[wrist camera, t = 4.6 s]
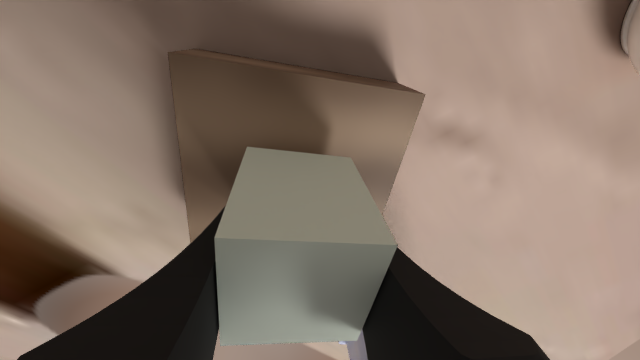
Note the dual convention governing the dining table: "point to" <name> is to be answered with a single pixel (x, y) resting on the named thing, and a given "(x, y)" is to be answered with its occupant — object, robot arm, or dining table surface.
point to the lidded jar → (632, 34)
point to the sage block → (298, 250)
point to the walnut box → (281, 122)
